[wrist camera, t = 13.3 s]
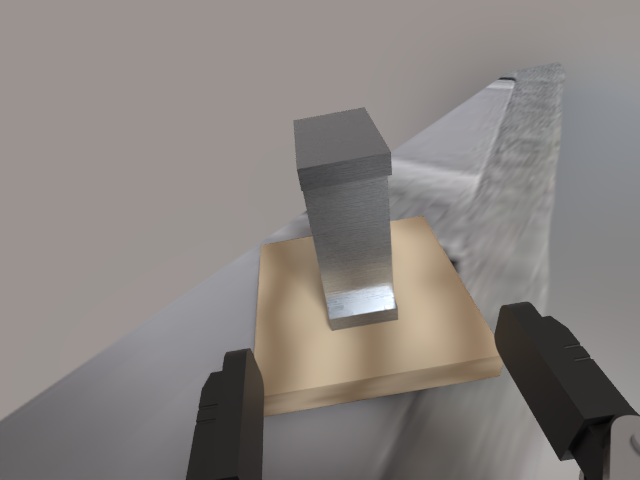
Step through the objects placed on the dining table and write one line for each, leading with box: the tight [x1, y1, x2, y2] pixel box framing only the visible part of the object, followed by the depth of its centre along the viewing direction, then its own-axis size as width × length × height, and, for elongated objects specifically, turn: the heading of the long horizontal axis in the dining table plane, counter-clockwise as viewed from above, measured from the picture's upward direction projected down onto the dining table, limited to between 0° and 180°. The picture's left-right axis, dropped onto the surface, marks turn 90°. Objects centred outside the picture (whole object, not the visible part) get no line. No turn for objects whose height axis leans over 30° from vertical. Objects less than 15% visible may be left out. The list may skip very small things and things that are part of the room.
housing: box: [294, 108, 398, 331], centre depth 24 cm, size 4×7×12 cm, turn 4°
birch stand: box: [254, 216, 503, 417], centre depth 28 cm, size 15×15×3 cm
